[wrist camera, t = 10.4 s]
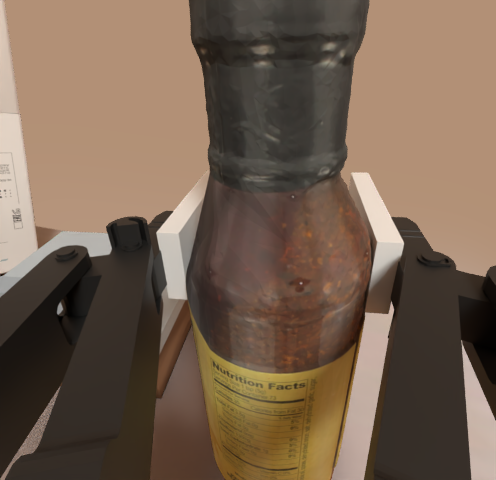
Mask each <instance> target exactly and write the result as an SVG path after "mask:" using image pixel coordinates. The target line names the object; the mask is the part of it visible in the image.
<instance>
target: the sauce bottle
mask: <svg viewBox="0 0 496 480" xmlns="http://www.w3.org/2000/svg"><path fill="white" fill-rule="evenodd" d="M189 6H190V18H191V40H192V43H193V45H194V47H195V49H196V52H197V54H198V56H199V59H200V62H201V65H202V70H203V76H204V86H205V97H206V111H207V115H208V130H209V136H210V145H209V148H208V160H209V165H210V174H209V178H208V183H207V187H206V192H205V196H204V200H203V205H202V209H201V214H200V218H199V222H198V227H197V231H196V236H195V240H194V245H193V249H192V253H191V258H190V261H189V264H188V267H187V272H186V292H187V299H188V305H189V310H190V316H191V324H192V328H193V334H194V340H195V345H196V351H197V356H198V362H199V368H200V374H201V380H202V387H203V393H204V399H205V406H206V412H207V418H208V424H209V430H210V436H211V442H212V448H213V453H214V457H215V461H216V463H217V466H218V468H219V470H220V472H221V473H222V475H223V477H224V478H225V480H331V478H332V474H333V471H334V468H335V466H336V464H337V461H338V457H339V452H340V448H341V443H342V438H343V433H344V428H345V422H346V417H347V412H348V407H349V401H350V395H351V390H352V385H353V379H354V374H355V368H356V364H357V359H358V353H359V348H360V342H361V337H362V331H363V326H364V320H365V311H364V307H363V304H364V301H365V292H366V289H367V285H368V282H369V279H370V270H371V266H372V264H371V244H370V238H369V234H368V230H367V227H366V225H365V222H364V221H363V219H362V217H361V216H360V213H359V211H358V209H357V207H356V206H355V202H354V200H353V198H352V197H351V195H350V193H349V190H348V188H347V185H346V183H345V182H344V181H343V179H342V178H341V175H340V171H341V170H342V168H343V166H344V162H345V160H346V159H347V146H346V143H345V138H346V130H347V118H348V109H349V101H350V95H351V83H352V75H353V65H354V59H355V56H356V53H357V52H358V50H359V48H360V46H361V43H362V41H363V38H364V35H365V30H366V21H367V13H368V8H369V0H189Z"/></svg>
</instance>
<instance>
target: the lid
mask: <svg viewBox="0 0 496 480" xmlns="http://www.w3.org/2000/svg"><path fill="white" fill-rule="evenodd" d="M68 245H71V246H73V245H80V246H84V247H86V248H87V250H88V253H89V256H90V257H94V256H102V255H108V254H110V252H111V249H112V248H111V244H110V240H109V236H108V233H89V232H68V231H62V232H61V233H59V234H58V235H57V236H55V237H54V238H53V239H51V240H50V241H49V242H47V243H46V244H45V245H43V246H42V247H41V248H39V249H38V250H37V251H35V252H34V253H33V254H31V255H30V256H29V257H27V258H26V259H25V260H23V261H22V262H21V263H19V264H18V265H17V266H15V267H14V268H13V269H11V270H10V271H9V272H7V273H6V274H5V275H3V276H0V297H1V296H2V295H3V294H5V293H6V292H7V291H8V290H9V289H10V288H11V287H12V286H14V285H15V284H16V283H17V282H18V281H19V280H20V279H21V278H22V277H24V276H25V275H26V274H27V273H28V272H29V271H30V270H31V269H33V268H34V267H35V266H36V265H37V264H38V263H39V262H40V261H42V260H43V259H44V258H45V257H46V256H47V255H48V254H50V253H51V252H53V251H55V250H57V249H59V248H61V247H64V246H65V247H66V246H68ZM162 299H163V316H162V329H161V341H160V352H161V350H162V348H163V346H164V344H165V342H166V340H167V338H168V336H169V334H170V331H171V329H172V327H173V325H174V323H175V321H176V319H177V317H178V315H179V312H180V310H181V308H182V306H183V304H184V302H185V299H171V298H168V292H167V287H165V289H164V291H163V292H162ZM62 310H63V308H62V305H61V302H60V304H59V306H58V310H57V314H60V313H61V311H62ZM159 355H160V354H159Z"/></svg>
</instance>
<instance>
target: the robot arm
mask: <svg viewBox="0 0 496 480" xmlns="http://www.w3.org/2000/svg"><path fill="white" fill-rule="evenodd" d="M209 174H210V171H206V172H205V174H204V175H203V176H202V177H201V178H200V180H199V181H198V182H197V183H196V184H195V186H194V187H193V188H192V190H191V191H190V192H189V193H188V194H187V196H186V197H185V198H184V199H183V201H182V202H181V203H180V204H179V205H178V207H177V208H176V209H175V210H174V211H165V212H163V213H161V214H159V215H157V216H156V217H155V218H154V219H153V220H152V222H151V223H150V224H149V225H148V224H147V220H146V219H144V218H142V217H124V218H120V219H117V220H115V221H113V222H111V223H109V224H108V225H107V226H106V228H107V232H108V236H109V240H110V244H111V248H112V249H111V252H110V254H108V255H102V256H94V257H90V256H89V253H88V250H87V248H86V247H84V246H80V245H73V246H71V245H68V246H66V247H65V246H64V247H61V248H59V249H57V250H55V251H53V252H51V253H50V254H48V255H47V256H46V257H45V258H44V259H43V260H42V261H40V262H39V263H38V264H37V265H36V266H35V267H34V268H33V269H31V270H30V271H29V272H28V273H27V274H26V275H25V276H24V277H22V278H21V279H20V280H19V281H18V282H17V283H16V284H15V285H14V286H12V287H11V288H10V289H9V290H8V291H7V292H6V293H5V294H3V295H2V296H1V297H0V478H1V476H2V475H3V473H4V472H5V470H6V468H7V467H8V465H9V464H10V462H11V461H12V459H13V458H14V456H15V455H16V453H17V451H18V450H19V448H20V447H21V445H22V444H23V442H24V441H25V439H26V438H27V436H28V434H29V433H30V431H31V430H32V428H33V427H34V425H35V424H36V422H37V420H38V419H39V417H40V416H41V414H42V413H43V411H44V410H45V408H46V407H47V405H48V403H49V402H50V400H51V399H52V397H53V396H54V394H55V393H56V391H57V390H58V388H59V386H60V385H61V383H62V385H61V387H60V390H59V393H58V396H57V398H56V401H55V404H54V406H53V409H52V412H51V414H50V417H49V420H48V423H47V425H46V428H45V431H44V433H43V436H42V439H41V442H40V444H39V446H38V448H37V449H36V450H35V451H34V453H32V454H28V455H23V456H21V457H20V458H19V459H18V460H17V461H16V462H15V463H14V464H13V465H12V467H11V469H10V471H9V473H8V474H7V476H6V478H5V480H149V479H150V466H151V454H152V441H153V429H154V416H155V404H156V391H157V379H158V366H159V354H160V341H161V329H162V316H163V299H162V292H163V291H164V289H165V287H167V292H168V298H171V299H185V300H188V299H187V292H186V272H187V267H188V264H189V261H190V258H191V253H192V249H193V245H194V240H195V236H196V231H197V227H198V222H199V218H200V214H201V209H202V205H203V200H204V196H205V192H206V187H207V183H208V178H209ZM349 193H350V195H351V197H352V198H353V200H354V202H355V206H356V207H357V209H358V211H359V213H360V216H361V217H362V219H363V221H364V222H365V225H366V227H367V230H368V234H369V238H370V244H371V264H372V266H371V270H370V279H369V282H368V285H367V289H366V292H365V301H364V304H363V307H364V311H365V312H368V313H382V314H388V313H389V309H390V304H391V301H392V304H393V307H394V314H393V318H392V322H391V326H390V331H389V335H388V338H389V340H388V345H387V351H386V357H385V363H384V368H383V374H382V380H381V385H380V391H379V397H378V403H377V408H376V414H375V420H374V426H373V431H372V437H371V443H370V448H369V454H368V460H367V466H366V471H365V477H364V480H471V469H470V455H469V441H468V427H467V413H466V399H465V385H464V372H463V358H462V344H461V340H462V343H463V346H464V349H465V351H466V353H467V355H468V358H469V360H470V362H471V365H472V367H473V369H474V372H475V374H476V376H477V378H478V381H479V383H480V385H481V388H482V390H483V392H484V395H485V397H486V399H487V401H488V404H489V406H490V408H491V411H492V413H493V415H494V418H495V420H496V266H493V267H490V269H489V270H488V271H487V274H486V277H483V276H479V275H474V274H469V273H465V272H461V271H458V270H456V265H455V263H454V261H453V260H452V259H451V258H449V257H448V256H446V255H444V254H441V253H439V252H435V251H433V249H432V248H431V246H430V245H429V243H428V242H427V240H426V239H425V237H424V235H423V234H422V232H420V229H419V228H418V226H417V225H416V224H415V223H414V222H413V221H411V220H410V219H408V218H403V217H391V216H390V215H389V213H388V211H387V209H386V207H385V205H384V203H383V201H382V199H381V197H380V195H379V193H378V191H377V189H376V188H375V185H374V184H373V181H372V180H371V178H370V176H369V174H368V173H351V179H350V186H349ZM60 302H61V305H62V308H63V310H62V311H61V313H60V314H57V310H58V306H59V304H60Z"/></svg>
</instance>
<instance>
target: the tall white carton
mask: <svg viewBox="0 0 496 480" xmlns="http://www.w3.org/2000/svg"><path fill="white" fill-rule="evenodd" d="M37 250H38V242H37V234H36V227H35V220H34V212H33V205H32V198H31V190H30V182H29V175H28V167H27V160H26V153H25V146H24V138H23V131H22V123H21V116H20V112H19V105H18V97H17V90H16V82H15V75H14V67H13V60H12V52H11V45H10V37H9V30H8V23H7V15H6V9H5V0H0V274H3V273H7V272H9V271H10V270H11V269H13V268H14V267H15V266H17V265H18V264H19V263H21V262H22V261H23V260H25V259H26V258H27V257H29V256H30V255H31V254H33V253H34V252H35V251H37Z"/></svg>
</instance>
